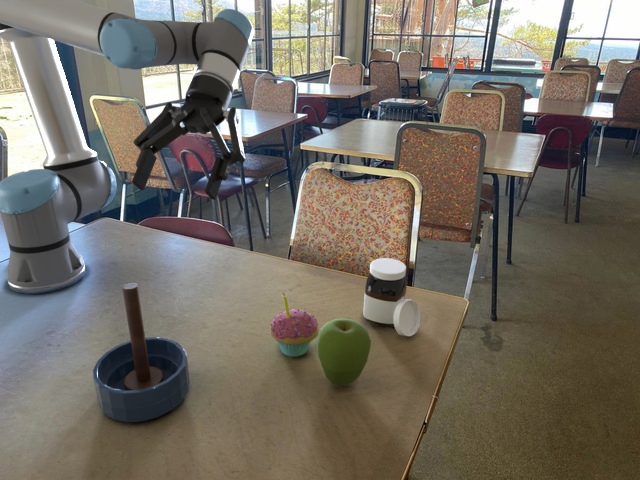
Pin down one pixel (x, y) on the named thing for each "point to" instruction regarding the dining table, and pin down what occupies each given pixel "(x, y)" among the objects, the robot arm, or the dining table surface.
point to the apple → (343, 350)
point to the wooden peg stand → (138, 344)
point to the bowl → (148, 400)
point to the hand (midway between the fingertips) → (173, 191)
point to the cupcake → (294, 330)
